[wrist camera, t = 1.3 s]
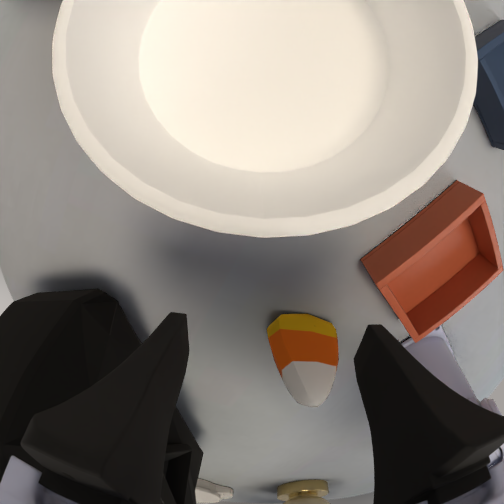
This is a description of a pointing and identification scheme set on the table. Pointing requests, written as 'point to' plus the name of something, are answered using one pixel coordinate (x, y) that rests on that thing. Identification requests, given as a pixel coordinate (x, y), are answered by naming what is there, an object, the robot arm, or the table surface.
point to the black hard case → (75, 373)
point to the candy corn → (305, 356)
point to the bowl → (266, 104)
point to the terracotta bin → (437, 260)
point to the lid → (211, 492)
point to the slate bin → (491, 82)
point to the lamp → (303, 492)
